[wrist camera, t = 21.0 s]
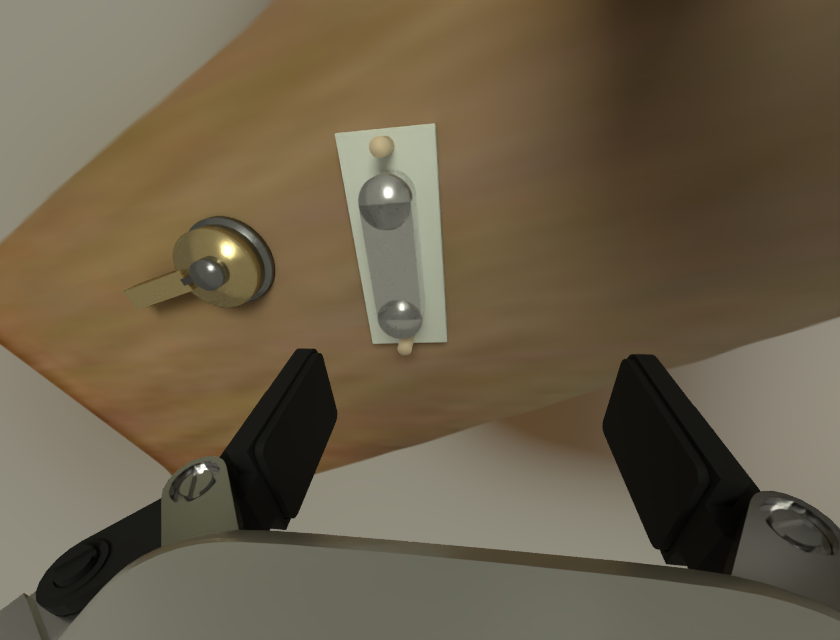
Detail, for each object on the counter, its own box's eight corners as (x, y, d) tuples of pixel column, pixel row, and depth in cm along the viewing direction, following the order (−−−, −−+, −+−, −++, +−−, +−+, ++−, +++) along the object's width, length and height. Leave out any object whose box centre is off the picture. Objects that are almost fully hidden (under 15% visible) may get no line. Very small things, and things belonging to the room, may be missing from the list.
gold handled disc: (236, 212, 32) (213, 221, 29) (279, 287, 35) (263, 302, 33) (119, 259, 36) (89, 270, 33) (169, 322, 39) (146, 338, 36)
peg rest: (342, 133, 29) (321, 133, 25) (436, 123, 28) (432, 122, 24) (376, 334, 39) (366, 360, 34) (447, 332, 38) (446, 358, 33)
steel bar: (388, 318, 35) (381, 339, 32) (366, 171, 28) (353, 177, 25) (427, 317, 35) (423, 338, 31) (413, 167, 28) (407, 172, 24)
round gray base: (175, 219, 34) (169, 221, 33) (259, 213, 33) (255, 214, 32) (209, 300, 38) (205, 303, 38) (285, 297, 37) (281, 300, 37)
